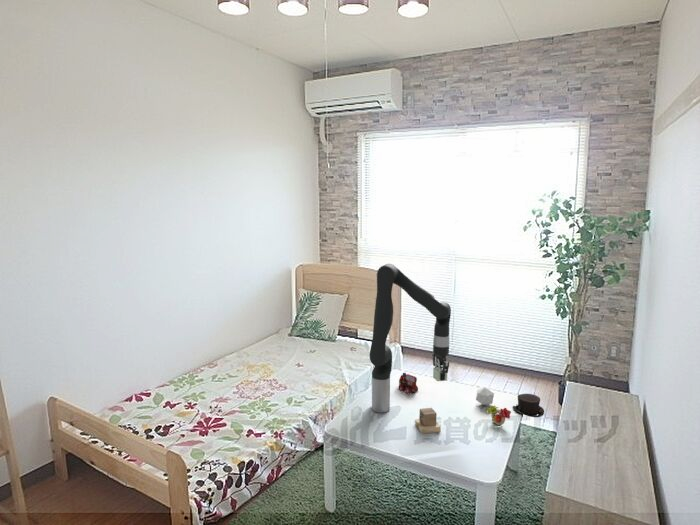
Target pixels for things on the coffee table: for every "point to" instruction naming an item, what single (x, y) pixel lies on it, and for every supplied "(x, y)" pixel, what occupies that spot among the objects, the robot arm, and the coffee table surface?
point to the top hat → (529, 405)
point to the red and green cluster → (501, 415)
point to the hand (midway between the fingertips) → (439, 377)
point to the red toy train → (408, 383)
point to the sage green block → (438, 374)
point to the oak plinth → (427, 429)
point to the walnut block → (427, 417)
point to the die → (484, 396)
